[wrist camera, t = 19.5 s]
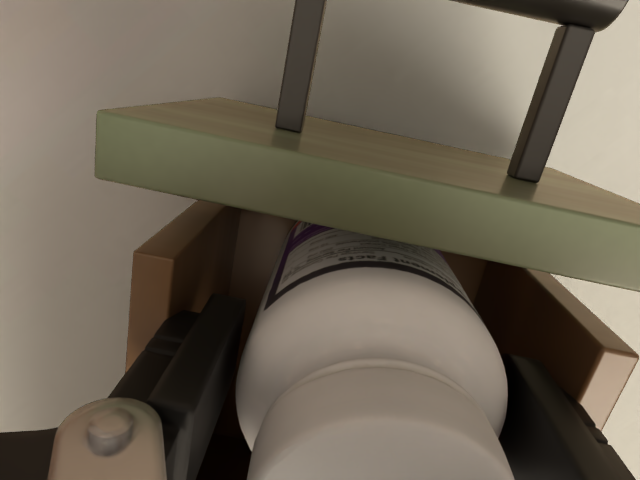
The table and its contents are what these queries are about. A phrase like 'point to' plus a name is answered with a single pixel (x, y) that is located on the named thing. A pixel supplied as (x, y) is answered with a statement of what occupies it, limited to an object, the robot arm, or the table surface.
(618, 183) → the table surface
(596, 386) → the drawer
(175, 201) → the table surface
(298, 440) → the pill bottle
